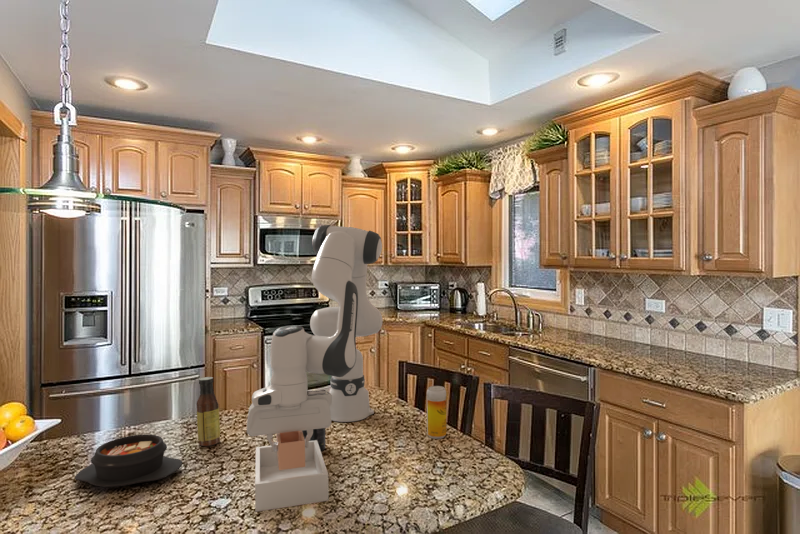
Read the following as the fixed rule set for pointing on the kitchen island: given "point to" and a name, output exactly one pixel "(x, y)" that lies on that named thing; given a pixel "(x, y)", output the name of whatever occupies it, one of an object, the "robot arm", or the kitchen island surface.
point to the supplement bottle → (317, 437)
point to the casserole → (129, 462)
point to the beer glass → (436, 412)
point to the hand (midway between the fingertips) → (290, 448)
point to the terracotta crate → (291, 450)
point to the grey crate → (289, 480)
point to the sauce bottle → (207, 414)
